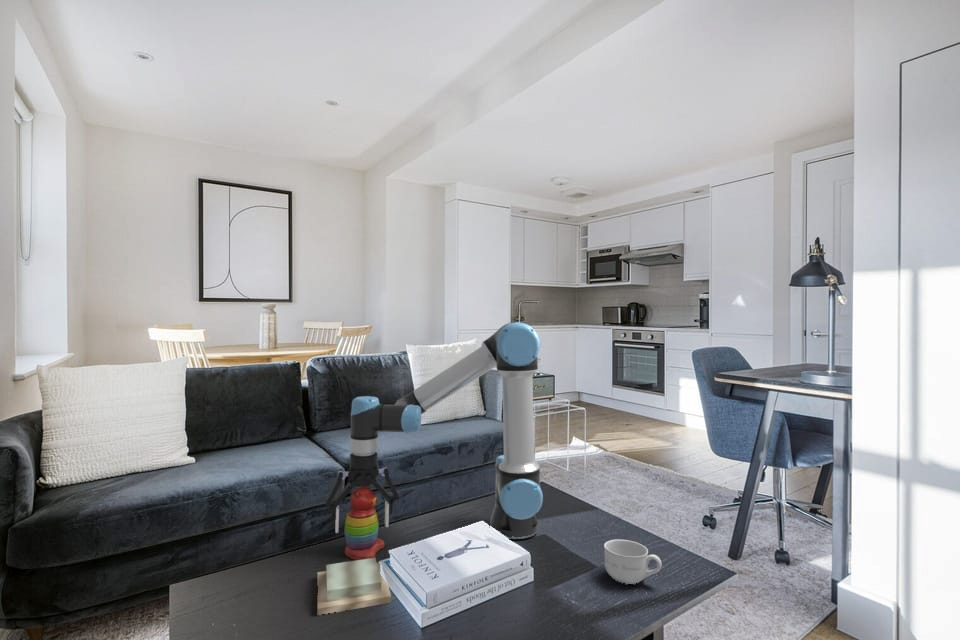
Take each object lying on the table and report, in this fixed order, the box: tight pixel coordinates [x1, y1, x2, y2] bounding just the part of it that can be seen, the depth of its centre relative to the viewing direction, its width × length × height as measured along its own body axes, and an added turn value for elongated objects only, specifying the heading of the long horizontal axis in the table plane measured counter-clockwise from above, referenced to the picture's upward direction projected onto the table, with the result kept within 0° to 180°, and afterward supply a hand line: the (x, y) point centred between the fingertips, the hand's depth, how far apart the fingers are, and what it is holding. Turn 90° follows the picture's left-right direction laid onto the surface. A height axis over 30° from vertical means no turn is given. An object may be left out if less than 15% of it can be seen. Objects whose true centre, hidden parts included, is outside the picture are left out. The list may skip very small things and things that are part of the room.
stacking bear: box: [343, 486, 386, 561], centre depth 133 cm, size 11×10×18 cm
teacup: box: [603, 538, 663, 585], centre depth 119 cm, size 14×11×8 cm
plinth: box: [316, 557, 392, 617], centre depth 114 cm, size 16×16×4 cm
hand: (362, 528), depth 133 cm, fingers open, 13 cm apart
